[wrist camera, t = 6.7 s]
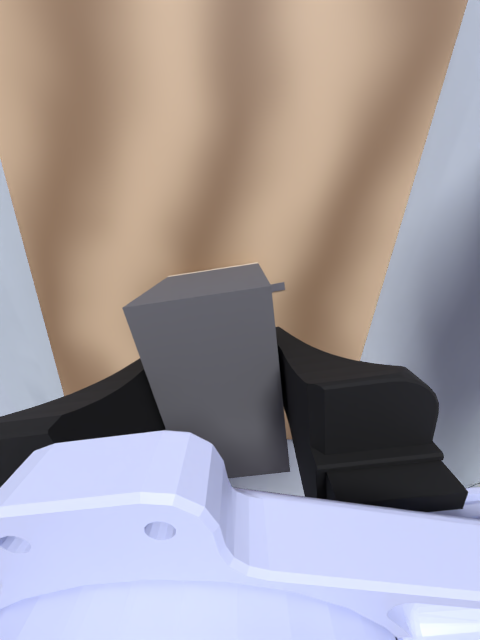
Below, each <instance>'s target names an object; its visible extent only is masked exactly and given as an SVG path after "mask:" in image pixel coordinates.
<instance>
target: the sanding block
mask: <svg viewBox="0 0 480 640" xmlns="http://www.w3.org/2000/svg"><path fill="white" fill-rule="evenodd" d="M122 309H123V312H124V314H125V317H126V320H127V323H128V325H129V328H130V331H131V334H132V337H133V339H134V342H135V345H136V348H137V351H138V353H139V356H140V359H141V362H142V364H143V367H144V370H145V373H146V376H147V378H148V381H149V384H150V387H151V389H152V392H153V395H154V398H155V401H156V403H157V406H158V409H159V412H160V415H161V417H162V420H163V423H164V426H165V428H166V430H171V431H184V432H191V433H193V434H195V435H197V436H199V437H200V438H202V439H204V440H206V441H208V442H210V443H212V444H213V446H214V447H215V449H216V450H217V452H218V453H219V455H220V456H221V458H222V459H223V461H224V464H225V468H226V472H227V476H228V478H234V477H244V476H253V475H262V474H272V473H281V472H290V467H289V458H288V448H287V438H286V428H285V418H284V408H283V398H282V388H281V378H280V368H279V358H278V348H277V338H276V328H275V318H274V308H273V298H272V288H271V284H270V283H269V281H268V279H267V277H266V276H265V274H264V272H263V270H262V269H261V267H260V265H259V263H258V262H257V263H250V264H244V265H237V266H230V267H224V268H217V269H211V270H204V271H198V272H191V273H185V274H178V275H172V276H168V277H167V278H165V279H164V280H162V281H161V282H159V283H158V284H156V285H155V286H153V287H152V288H151V289H149V290H148V291H146V292H145V293H143V294H142V295H140V296H139V297H137V298H136V299H134V300H133V301H131V302H130V303H129V304H127V305H126V306H124V307H123V308H122Z"/></svg>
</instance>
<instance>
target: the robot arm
mask: <svg viewBox="0 0 480 640" xmlns="http://www.w3.org/2000/svg"><path fill="white" fill-rule="evenodd" d="M275 328H276V338H277V348H278V358H279V368H280V378H281V388H282V398H283V407H284V410H285V413H286V416H287V419H288V423H289V427H290V431H291V435H292V440H293V444H294V449H295V453H296V458H297V462H298V467H299V471H300V476H301V480H302V485H303V490H304V494H305V497H303V496H295V495H287V494H280V493H272V492H264V491H256V490H249V489H241V488H233V487H232V486H231V484H230V482H229V480H228V476H227V472H226V468H225V464H224V461H223V459H222V458H221V456H220V455H219V453H218V452H217V450H216V449H215V447H214V446H213V444H212V443H210V442H208V441H206V440H204V439H202V438H200V437H199V436H197V435H195V434H193V433H191V432H184V431H171V430H166V428H165V426H164V423H163V420H162V417H161V415H160V412H159V409H158V406H157V403H156V401H155V398H154V395H153V392H152V389H151V387H150V384H149V381H148V378H147V376H146V373H145V370H144V367H143V364H142V362H141V359H140V358H139V359H138V360H136V361H135V362H133V363H131V364H130V365H128V366H126V367H125V368H123V369H121V370H120V371H118V372H116V373H114V374H113V375H111V376H109V377H107V378H105V379H103V380H101V381H99V382H97V383H95V384H92V385H90V386H88V387H86V388H83V389H81V390H79V391H76V392H74V393H72V394H69V395H66V396H64V397H61V398H58V399H56V400H53V401H50V402H47V403H44V404H41V405H38V406H35V407H32V408H29V409H25V410H22V411H19V412H15V413H12V414H8V415H5V416H2V417H0V640H480V487H471V488H465V487H464V486H463V485H462V484H461V483H460V482H459V481H458V479H457V478H456V477H455V476H454V475H453V474H452V473H451V471H450V470H449V469H448V468H447V467H446V466H445V465H444V463H443V462H442V461H441V460H443V458H444V455H443V453H442V451H441V450H440V449H439V448H438V447H437V446H436V445H435V444H434V443H433V441H432V440H433V436H434V431H435V427H436V422H437V418H438V411H439V402H438V400H437V397H436V394H435V393H434V392H433V391H432V389H431V388H430V387H429V386H428V385H427V384H425V383H424V382H423V381H422V380H421V379H419V378H418V377H417V376H416V375H415V374H413V373H412V372H411V371H410V370H408V369H407V368H406V367H402V366H392V365H382V364H374V363H368V362H362V361H356V360H352V359H347V358H344V357H340V356H336V355H333V354H330V353H327V352H324V351H322V350H319V349H317V348H314V347H312V346H310V345H308V344H306V343H304V342H302V341H301V340H299V339H297V338H296V337H294V336H292V335H291V334H289V333H288V332H286V331H285V330H283V329H282V328H280V327H275Z"/></svg>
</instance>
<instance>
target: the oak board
mask: <svg viewBox="0 0 480 640" xmlns="http://www.w3.org/2000/svg"><path fill="white" fill-rule="evenodd" d="M467 2H468V0H0V159H1V162H2V166H3V170H4V173H5V177H6V181H7V185H8V188H9V192H10V196H11V199H12V203H13V207H14V211H15V214H16V218H17V222H18V225H19V229H20V233H21V237H22V240H23V244H24V248H25V251H26V255H27V259H28V263H29V266H30V270H31V274H32V277H33V281H34V285H35V289H36V292H37V296H38V300H39V303H40V307H41V311H42V315H43V318H44V322H45V326H46V329H47V333H48V337H49V341H50V344H51V348H52V352H53V355H54V359H55V363H56V367H57V370H58V374H59V378H60V381H61V385H62V389H63V393H64V396H66V395H69V394H72V393H74V392H76V391H79V390H81V389H83V388H86V387H88V386H90V385H92V384H95V383H97V382H99V381H101V380H103V379H105V378H107V377H109V376H111V375H113V374H114V373H116V372H118V371H120V370H121V369H123V368H125V367H126V366H128V365H130V364H131V363H133V362H135V361H136V360H138V359H139V358H140V356H139V353H138V351H137V348H136V345H135V342H134V339H133V337H132V334H131V331H130V328H129V325H128V323H127V320H126V317H125V314H124V312H123V309H122V308H123V307H124V306H126V305H127V304H129V303H130V302H131V301H133V300H134V299H136V298H137V297H139V296H140V295H142V294H143V293H145V292H146V291H148V290H149V289H151V288H152V287H153V286H155V285H156V284H158V283H159V282H161V281H162V280H164V279H165V278H167V277H168V276H172V275H178V274H185V273H191V272H198V271H204V270H211V269H217V268H224V267H230V266H237V265H244V264H250V263H257V262H258V263H259V265H260V267H261V269H262V270H263V272H264V274H265V276H266V277H267V279H268V281H269V283H270V284H271V288H272V298H273V308H274V318H275V327H280V328H282V329H283V330H285V331H286V332H288V333H289V334H291V335H292V336H294V337H296V338H297V339H299V340H301V341H302V342H304V343H306V344H308V345H310V346H312V347H314V348H317V349H319V350H322V351H324V352H327V353H330V354H333V355H336V356H340V357H344V358H347V359H352V360H356V361H360V358H361V355H362V352H363V348H364V345H365V342H366V338H367V335H368V332H369V328H370V325H371V322H372V318H373V315H374V312H375V308H376V305H377V302H378V298H379V295H380V292H381V288H382V285H383V282H384V278H385V275H386V272H387V268H388V265H389V262H390V258H391V255H392V252H393V248H394V245H395V242H396V238H397V235H398V232H399V228H400V225H401V222H402V218H403V215H404V212H405V208H406V205H407V202H408V198H409V195H410V192H411V188H412V185H413V182H414V178H415V175H416V172H417V168H418V165H419V162H420V158H421V155H422V152H423V149H424V145H425V142H426V139H427V135H428V132H429V129H430V125H431V122H432V119H433V115H434V112H435V109H436V105H437V102H438V99H439V95H440V92H441V89H442V85H443V82H444V79H445V75H446V72H447V69H448V65H449V62H450V59H451V55H452V52H453V49H454V45H455V42H456V39H457V35H458V32H459V29H460V25H461V22H462V19H463V15H464V12H465V9H466V5H467ZM283 408H284V407H283ZM284 418H285V428H286V438H287V439H292V435H291V431H290V427H289V423H288V419H287V416H286V413H285V410H284Z"/></svg>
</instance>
